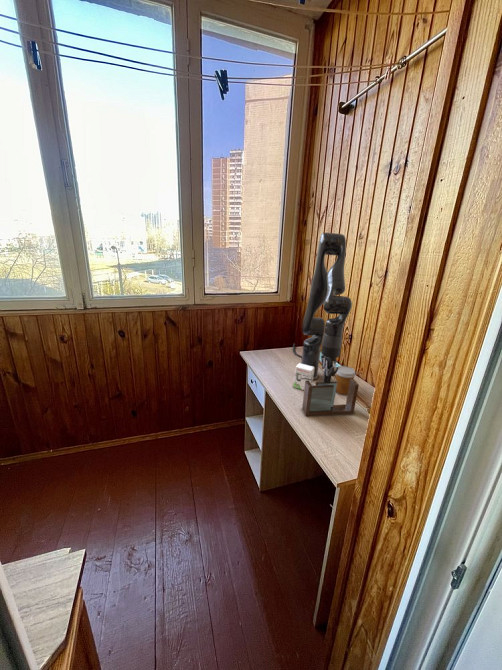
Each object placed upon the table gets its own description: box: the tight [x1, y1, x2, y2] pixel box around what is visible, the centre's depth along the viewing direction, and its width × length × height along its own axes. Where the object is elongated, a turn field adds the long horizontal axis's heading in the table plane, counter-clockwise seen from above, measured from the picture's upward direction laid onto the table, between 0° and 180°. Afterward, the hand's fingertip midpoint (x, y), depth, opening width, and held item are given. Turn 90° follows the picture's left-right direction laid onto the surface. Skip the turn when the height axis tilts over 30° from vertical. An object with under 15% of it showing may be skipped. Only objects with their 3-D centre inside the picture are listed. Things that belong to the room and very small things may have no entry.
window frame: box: [301, 378, 360, 417], centre depth 127 cm, size 5×22×14 cm, turn 98°
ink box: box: [293, 362, 315, 391], centre depth 147 cm, size 9×5×12 cm, turn 61°
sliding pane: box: [314, 370, 337, 407], centre depth 127 cm, size 1×9×18 cm, turn 98°
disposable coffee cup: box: [335, 365, 356, 395], centre depth 145 cm, size 10×10×12 cm
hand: (326, 381), depth 126 cm, fingers closed
